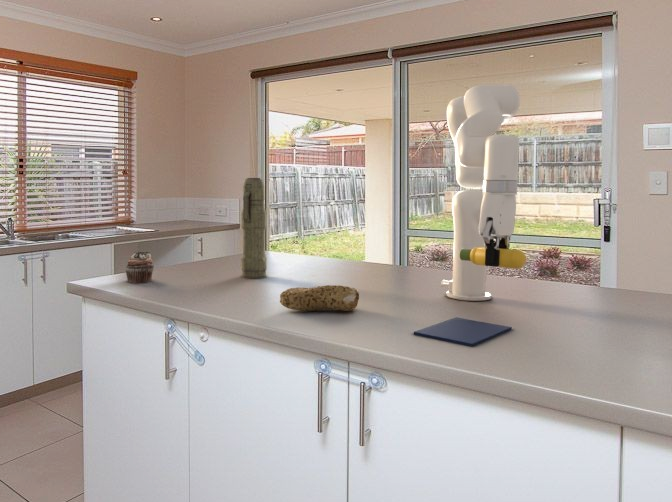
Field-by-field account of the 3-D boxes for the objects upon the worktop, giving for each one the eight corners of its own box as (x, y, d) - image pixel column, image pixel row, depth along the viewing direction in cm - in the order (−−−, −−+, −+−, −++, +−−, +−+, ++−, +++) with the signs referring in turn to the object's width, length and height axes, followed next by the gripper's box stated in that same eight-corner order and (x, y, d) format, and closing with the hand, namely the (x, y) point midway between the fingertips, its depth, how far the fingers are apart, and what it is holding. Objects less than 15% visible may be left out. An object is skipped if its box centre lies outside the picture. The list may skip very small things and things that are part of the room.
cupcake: (131, 278, 209) (130, 249, 208) (157, 278, 208) (157, 250, 207) (120, 283, 200) (119, 253, 199) (148, 283, 199) (147, 253, 197)
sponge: (356, 311, 164) (287, 292, 168) (362, 285, 161) (292, 267, 165) (348, 331, 152) (274, 310, 156) (354, 303, 149) (279, 283, 153)
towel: (413, 334, 135) (413, 331, 135) (456, 319, 149) (456, 317, 149) (472, 346, 125) (472, 343, 125) (511, 329, 139) (511, 327, 139)
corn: (457, 264, 147) (458, 246, 147) (465, 262, 150) (466, 245, 150) (521, 270, 137) (522, 251, 136) (528, 268, 140) (529, 249, 139)
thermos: (235, 278, 210) (235, 178, 205) (248, 273, 221) (248, 177, 216) (259, 279, 206) (259, 177, 202) (271, 274, 217) (271, 178, 213)
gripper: (499, 188, 149) (495, 260, 151) (468, 188, 137) (465, 267, 139) (529, 188, 144) (525, 263, 146) (501, 188, 132) (497, 270, 134)
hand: (496, 264), depth 143 cm, fingers closed on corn, 4 cm apart
